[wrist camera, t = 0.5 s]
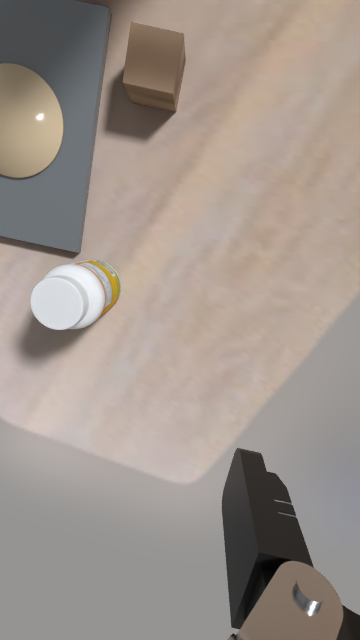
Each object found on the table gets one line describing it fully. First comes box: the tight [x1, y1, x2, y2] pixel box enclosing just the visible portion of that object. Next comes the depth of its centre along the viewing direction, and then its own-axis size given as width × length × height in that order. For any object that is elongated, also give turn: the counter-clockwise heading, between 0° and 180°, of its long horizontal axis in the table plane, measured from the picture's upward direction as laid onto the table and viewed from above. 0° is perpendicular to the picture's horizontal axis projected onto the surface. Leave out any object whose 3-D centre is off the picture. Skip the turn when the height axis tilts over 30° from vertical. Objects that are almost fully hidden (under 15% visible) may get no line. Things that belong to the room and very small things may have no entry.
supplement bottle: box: [30, 259, 121, 330], centre depth 29 cm, size 5×5×10 cm
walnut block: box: [122, 22, 186, 112], centre depth 27 cm, size 4×4×4 cm
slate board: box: [0, 0, 111, 252], centre depth 30 cm, size 20×14×1 cm
